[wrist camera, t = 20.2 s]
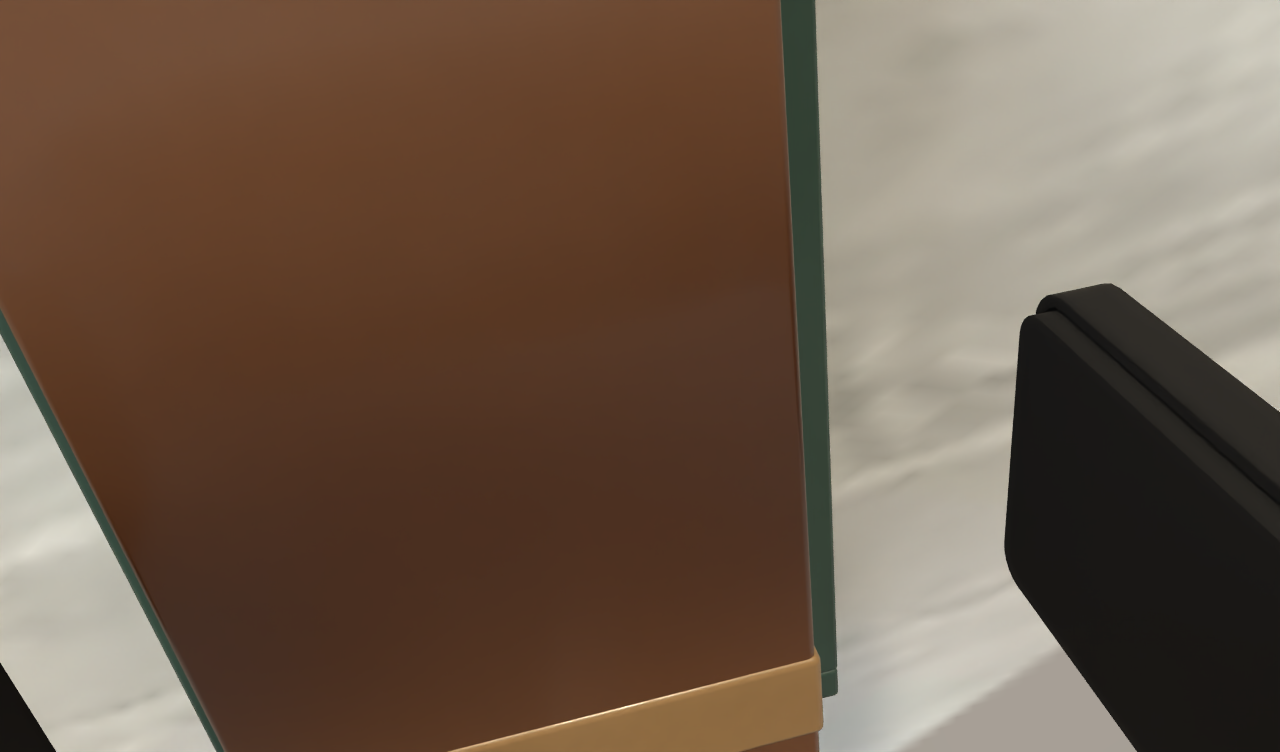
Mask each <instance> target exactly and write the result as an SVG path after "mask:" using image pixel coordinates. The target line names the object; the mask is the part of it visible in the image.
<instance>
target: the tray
mask: <svg viewBox="0 0 1280 752" xmlns="http://www.w3.org/2000/svg"><path fill="white" fill-rule="evenodd" d="M780 3H781V22H782V41H783V60H784V80H785V99H786V118H787V137H788V157H789V176H790V195H791V214H792V234H793V253H794V272H795V291H796V311H797V330H798V349H799V368H800V388H801V407H802V426H803V445H804V465H805V484H806V503H807V522H808V542H809V561H810V580H811V599H812V619H813V638H814V646H815V648H816V650H817V652H818V655H819V657H820V663H821V684H822V698H825V697H829V696H833V695H835V694H837V692H838V680H837V669H836V668H837V647H836V616H835V586H834V556H833V526H832V496H831V466H830V436H829V406H828V375H827V345H826V315H825V285H824V255H823V225H822V195H821V165H820V134H819V104H818V74H817V44H816V14H815V0H780ZM0 334H1V336H2V338H3V340H4V342H5V343H6V345H7V347H8V349H9V351H10V353H11V355H12V357H13V359H14V361H15V363H16V365H17V367H18V369H19V371H20V372H21V374H22V376H23V378H24V380H25V382H26V384H27V386H28V388H29V390H30V392H31V394H32V396H33V398H34V400H35V402H36V403H37V405H38V407H39V409H40V411H41V413H42V415H43V417H44V419H45V421H46V423H47V425H48V427H49V429H50V431H51V432H52V434H53V436H54V438H55V440H56V442H57V444H58V446H59V448H60V450H61V452H62V454H63V456H64V458H65V460H66V461H67V463H68V465H69V467H70V469H71V471H72V473H73V475H74V477H75V479H76V481H77V483H78V485H79V487H80V489H81V490H82V492H83V494H84V496H85V498H86V500H87V502H88V504H89V506H90V508H91V510H92V512H93V514H94V516H95V518H96V520H97V521H98V523H99V525H100V527H101V529H102V531H103V533H104V535H105V537H106V539H107V541H108V543H109V545H110V547H111V549H112V550H113V552H114V554H115V556H116V558H117V560H118V562H119V564H120V566H121V568H122V570H123V572H124V574H125V576H126V578H127V579H128V581H129V583H130V585H131V587H132V589H133V591H134V593H135V595H136V597H137V599H138V601H139V603H140V605H141V607H142V608H143V610H144V612H145V614H146V616H147V618H148V620H149V622H150V624H151V626H152V628H153V630H154V632H155V634H156V636H157V637H158V639H159V641H160V643H161V645H162V647H163V649H164V651H165V653H166V655H167V657H168V659H169V661H170V663H171V665H172V667H173V668H174V670H175V672H176V674H177V676H178V678H179V680H180V682H181V684H182V686H183V688H184V690H185V692H186V694H187V696H188V697H189V699H190V701H191V703H192V705H193V707H194V709H195V711H196V713H197V715H198V717H199V719H200V721H201V723H202V725H203V726H204V728H205V730H206V732H207V734H208V736H209V738H210V740H211V742H212V744H213V746H214V748H215V750H216V752H224V750H223V748H222V746H221V744H220V742H219V740H218V738H217V736H216V734H215V732H214V730H213V728H212V726H211V724H210V722H209V720H208V718H207V716H206V714H205V712H204V710H203V708H202V706H201V704H200V702H199V700H198V698H197V696H196V694H195V693H194V691H193V689H192V687H191V685H190V683H189V681H188V679H187V677H186V675H185V673H184V671H183V669H182V667H181V665H180V663H179V661H178V659H177V657H176V655H175V653H174V651H173V649H172V647H171V645H170V643H169V641H168V639H167V637H166V635H165V633H164V631H163V629H162V627H161V625H160V623H159V621H158V619H157V617H156V615H155V613H154V611H153V610H152V608H151V606H150V604H149V602H148V600H147V598H146V596H145V594H144V592H143V590H142V588H141V586H140V584H139V582H138V580H137V578H136V576H135V574H134V572H133V570H132V568H131V566H130V564H129V562H128V560H127V558H126V556H125V554H124V552H123V550H122V548H121V546H120V544H119V542H118V540H117V538H116V536H115V534H114V532H113V530H112V529H111V527H110V525H109V523H108V521H107V519H106V517H105V515H104V513H103V511H102V509H101V507H100V505H99V503H98V501H97V499H96V497H95V495H94V493H93V491H92V489H91V487H90V485H89V483H88V481H87V479H86V477H85V475H84V473H83V471H82V469H81V467H80V465H79V463H78V461H77V459H76V457H75V455H74V453H73V451H72V449H71V447H70V446H69V444H68V442H67V440H66V438H65V436H64V434H63V432H62V430H61V428H60V426H59V424H58V422H57V420H56V418H55V416H54V414H53V412H52V410H51V408H50V406H49V404H48V402H47V400H46V398H45V396H44V394H43V392H42V390H41V388H40V386H39V384H38V382H37V380H36V378H35V376H34V374H33V372H32V370H31V368H30V366H29V364H28V363H27V361H26V359H25V357H24V355H23V353H22V351H21V349H20V347H19V345H18V343H17V341H16V339H15V337H14V335H13V333H12V331H11V329H10V327H9V325H8V323H7V321H6V319H5V317H4V315H3V313H2V311H1V309H0Z"/></svg>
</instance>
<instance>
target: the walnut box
mask: <svg viewBox="0 0 1280 752" xmlns="http://www.w3.org/2000/svg"><path fill="white" fill-rule="evenodd" d="M0 309H1V311H2V313H3V315H4V317H5V319H6V321H7V323H8V325H9V327H10V329H11V331H12V333H13V335H14V337H15V339H16V341H17V343H18V345H19V347H20V349H21V351H22V353H23V355H24V357H25V359H26V361H27V363H28V364H29V366H30V368H31V370H32V372H33V374H34V376H35V378H36V380H37V382H38V384H39V386H40V388H41V390H42V392H43V394H44V396H45V398H46V400H47V402H48V404H49V406H50V408H51V410H52V412H53V414H54V416H55V418H56V420H57V422H58V424H59V426H60V428H61V430H62V432H63V434H64V436H65V438H66V440H67V442H68V444H69V446H70V447H71V449H72V451H73V453H74V455H75V457H76V459H77V461H78V463H79V465H80V467H81V469H82V471H83V473H84V475H85V477H86V479H87V481H88V483H89V485H90V487H91V489H92V491H93V493H94V495H95V497H96V499H97V501H98V503H99V505H100V507H101V509H102V511H103V513H104V515H105V517H106V519H107V521H108V523H109V525H110V527H111V529H112V530H113V532H114V534H115V536H116V538H117V540H118V542H119V544H120V546H121V548H122V550H123V552H124V554H125V556H126V558H127V560H128V562H129V564H130V566H131V568H132V570H133V572H134V574H135V576H136V578H137V580H138V582H139V584H140V586H141V588H142V590H143V592H144V594H145V596H146V598H147V600H148V602H149V604H150V606H151V608H152V610H153V611H154V613H155V615H156V617H157V619H158V621H159V623H160V625H161V627H162V629H163V631H164V633H165V635H166V637H167V639H168V641H169V643H170V645H171V647H172V649H173V651H174V653H175V655H176V657H177V659H178V661H179V663H180V665H181V667H182V669H183V671H184V673H185V675H186V677H187V679H188V681H189V683H190V685H191V687H192V689H193V691H194V693H195V694H196V696H197V698H198V700H199V702H200V704H201V706H202V708H203V710H204V712H205V714H206V716H207V718H208V720H209V722H210V724H211V726H212V728H213V730H214V732H215V734H216V736H217V738H218V740H219V742H220V744H221V746H222V748H223V750H224V752H819V734H818V731H819V730H821V729H822V727H823V705H822V684H821V663H820V657H819V655H818V652H817V650H816V648H815V646H814V638H813V619H812V599H811V580H810V561H809V542H808V522H807V503H806V484H805V465H804V445H803V426H802V407H801V388H800V368H799V349H798V330H797V311H796V291H795V272H794V253H793V234H792V214H791V195H790V176H789V157H788V137H787V118H786V99H785V80H784V60H783V41H782V22H781V3H780V0H0Z"/></svg>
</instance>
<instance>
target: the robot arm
mask: <svg viewBox="0 0 1280 752" xmlns="http://www.w3.org/2000/svg"><path fill="white" fill-rule="evenodd" d="M1004 548H1005V556H1006V561H1007V564H1008V568H1009V571H1010V573H1011V575H1012V577H1013V579H1014V581H1015V583H1016V584H1017V586H1018V587H1019V589H1020V590H1021V592H1022V593H1023V594H1024V596H1025V597H1026V598H1027V600H1028V601H1029V603H1030V604H1031V605H1032V607H1033V608H1034V610H1035V611H1036V612H1037V614H1038V615H1039V616H1040V618H1041V619H1042V621H1043V622H1044V623H1045V625H1046V626H1047V628H1048V629H1049V630H1050V632H1051V633H1052V634H1053V636H1054V637H1055V639H1056V640H1057V641H1058V643H1059V644H1060V646H1061V647H1062V648H1063V650H1064V651H1065V652H1066V654H1067V655H1068V657H1069V658H1070V659H1071V661H1072V662H1073V664H1074V665H1075V666H1076V668H1077V669H1078V670H1079V672H1080V673H1081V674H1082V676H1083V677H1084V678H1085V680H1086V682H1087V683H1088V684H1089V686H1090V687H1091V688H1092V690H1093V691H1094V692H1095V694H1096V695H1097V697H1098V698H1099V699H1100V701H1101V702H1102V704H1103V705H1104V706H1105V708H1106V709H1107V711H1108V712H1109V713H1110V715H1111V716H1112V717H1113V719H1114V720H1115V722H1116V723H1117V724H1118V726H1119V727H1120V728H1121V730H1122V731H1123V733H1124V734H1125V736H1126V737H1127V738H1128V740H1129V741H1130V742H1131V744H1132V745H1133V747H1134V748H1135V749H1136V751H1137V752H1280V412H1279V411H1277V410H1276V409H1275V408H1274V407H1272V406H1271V405H1270V404H1268V403H1267V402H1266V401H1265V400H1263V399H1262V398H1261V397H1259V396H1258V395H1257V394H1256V393H1254V392H1253V391H1252V390H1250V389H1249V388H1248V387H1247V386H1245V385H1244V384H1243V383H1241V382H1240V381H1239V380H1238V379H1236V378H1235V377H1234V376H1232V375H1231V374H1230V373H1229V372H1227V371H1226V370H1225V369H1223V368H1222V367H1221V366H1220V365H1218V364H1217V363H1216V362H1214V361H1213V360H1212V359H1210V358H1209V357H1208V356H1207V355H1205V354H1204V353H1203V352H1201V351H1200V350H1199V349H1198V348H1196V347H1195V346H1194V345H1192V344H1191V343H1190V342H1189V341H1187V340H1186V339H1185V338H1183V337H1182V336H1181V335H1180V334H1178V333H1177V332H1176V331H1174V330H1173V329H1172V328H1171V327H1169V326H1168V325H1167V324H1165V323H1164V322H1163V321H1162V320H1160V319H1159V318H1158V317H1156V316H1155V315H1154V314H1153V313H1151V312H1150V311H1149V310H1147V309H1146V308H1145V307H1144V306H1142V305H1141V304H1140V303H1138V302H1137V301H1136V300H1135V299H1133V298H1132V297H1131V296H1129V295H1128V294H1127V293H1126V292H1124V291H1123V290H1122V289H1120V288H1119V287H1117V286H1115V285H1113V284H1100V285H1095V286H1090V287H1086V288H1081V289H1076V290H1071V291H1067V292H1062V293H1057V294H1052V295H1048V296H1046V297H1045V298H1043V299H1042V300H1041V301H1040V303H1039V305H1038V307H1037V310H1036V315H1031V316H1028V317H1027V318H1025V319H1024V321H1023V323H1022V325H1021V329H1020V336H1019V350H1018V364H1017V377H1016V391H1015V404H1014V418H1013V432H1012V445H1011V459H1010V473H1009V486H1008V500H1007V513H1006V527H1005V541H1004ZM0 752H56V751H55V749H54V747H53V746H52V744H51V743H50V741H49V740H48V738H47V736H46V735H45V733H44V732H43V730H42V728H41V727H40V725H39V724H38V722H37V720H36V719H35V717H34V716H33V714H32V712H31V711H30V709H29V708H28V706H27V705H26V703H25V701H24V700H23V698H22V697H21V695H20V693H19V692H18V690H17V689H16V687H15V685H14V684H13V682H12V681H11V679H10V677H9V676H8V674H7V673H6V671H5V670H4V668H3V666H2V665H1V663H0Z"/></svg>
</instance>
